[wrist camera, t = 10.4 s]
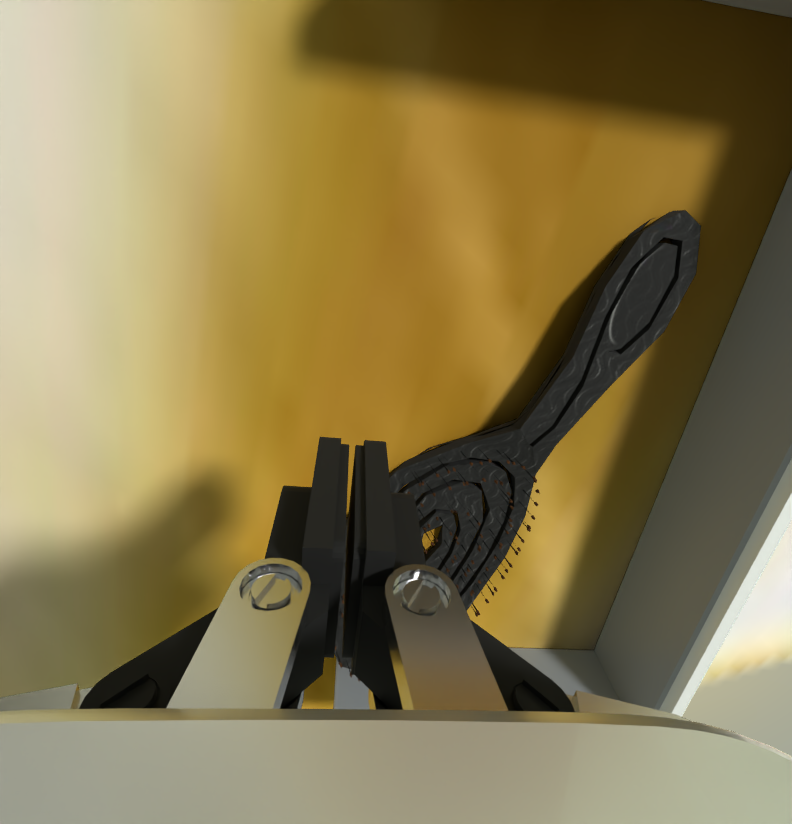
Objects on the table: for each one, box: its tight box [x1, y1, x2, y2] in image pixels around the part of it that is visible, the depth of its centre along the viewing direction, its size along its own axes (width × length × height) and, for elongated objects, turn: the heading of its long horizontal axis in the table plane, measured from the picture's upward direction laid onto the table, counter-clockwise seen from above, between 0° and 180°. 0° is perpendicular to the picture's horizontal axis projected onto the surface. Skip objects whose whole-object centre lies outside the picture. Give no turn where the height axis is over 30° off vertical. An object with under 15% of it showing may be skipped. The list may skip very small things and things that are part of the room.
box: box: [333, 0, 792, 717], centre depth 19 cm, size 32×16×6 cm, turn 173°
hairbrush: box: [334, 210, 701, 682], centre depth 21 cm, size 8×4×25 cm
